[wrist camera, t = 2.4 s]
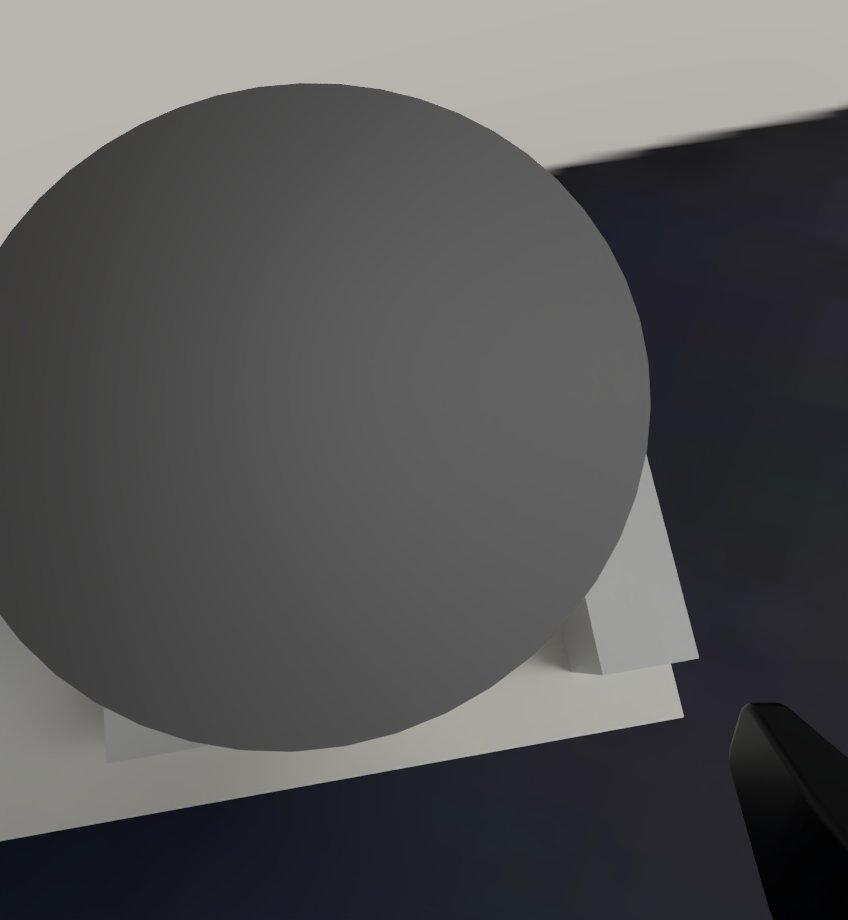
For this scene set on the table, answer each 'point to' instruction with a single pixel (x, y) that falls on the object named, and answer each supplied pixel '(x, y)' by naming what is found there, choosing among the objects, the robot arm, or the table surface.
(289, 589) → the white capped cylinder
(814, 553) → the table surface
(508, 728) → the white slotted stand
